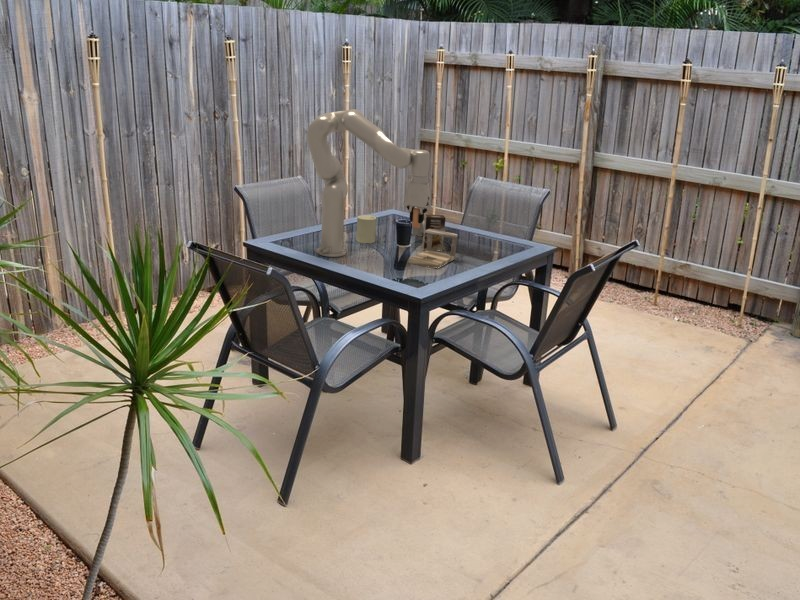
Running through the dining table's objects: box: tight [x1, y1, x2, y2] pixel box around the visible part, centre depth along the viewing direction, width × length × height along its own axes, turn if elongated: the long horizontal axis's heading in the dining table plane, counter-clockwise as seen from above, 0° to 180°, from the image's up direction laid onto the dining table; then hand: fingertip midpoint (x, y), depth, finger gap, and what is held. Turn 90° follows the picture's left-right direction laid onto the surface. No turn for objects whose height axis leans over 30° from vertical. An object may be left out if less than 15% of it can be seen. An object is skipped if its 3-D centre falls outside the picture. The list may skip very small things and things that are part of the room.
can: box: [355, 214, 377, 244], centre depth 346 cm, size 9×9×12 cm
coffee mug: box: [413, 212, 427, 236], centre depth 365 cm, size 13×10×10 cm
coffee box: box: [421, 213, 446, 252], centre depth 340 cm, size 9×6×16 cm
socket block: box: [408, 229, 458, 268], centre depth 321 cm, size 18×14×12 cm
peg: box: [412, 207, 420, 228], centre depth 316 cm, size 3×3×8 cm
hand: (416, 221), depth 316 cm, fingers closed on peg, 3 cm apart
